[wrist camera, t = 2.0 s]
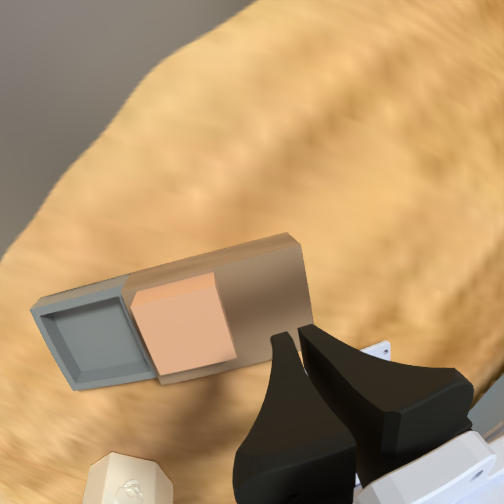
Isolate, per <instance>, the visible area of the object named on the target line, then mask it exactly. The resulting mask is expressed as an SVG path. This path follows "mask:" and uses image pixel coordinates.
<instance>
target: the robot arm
mask: <svg viewBox="0 0 504 504" xmlns="http://www.w3.org/2000/svg"><path fill="white" fill-rule="evenodd" d="M297 330H298V335H299V341H300V346H301V352H302V358H303V364H304V367H303V365H302V362H301V359H300V357H299V354H298V351H297V349H296V346H295V343H294V341H293V338H292V337H291V335H290V334H289V333H288V332H287V331H285V332H282V333H278V334H275V335H272V336H271V338H270V342H271V346H272V368H271V374H270V380H269V385H268V389H267V393H266V396H265V399H264V402H263V405H262V407H261V410H260V412H259V415H258V417H257V419H256V421H255V423H254V424H253V426H252V428H251V430H250V432H249V434H248V435H247V437H246V438H245V440H244V441H243V443H242V444H241V446H240V447H239V448H238V450H237V451H236V455H235V460H234V467H233V490H234V496H235V499H236V502H237V504H504V421H502V422H501V423H500V424H498V425H497V426H496V427H494V428H493V429H492V430H490V431H489V432H488V433H486V434H485V435H483V436H482V437H481V436H480V435H479V434H478V433H477V432H474V431H473V430H472V429H471V427H472V422H471V421H470V420H469V419H468V418H467V415H468V412H469V409H470V406H471V403H472V399H473V394H474V388H473V385H472V384H471V383H470V382H469V381H468V380H467V379H466V378H465V377H464V376H463V375H462V374H461V373H460V372H459V371H457V370H456V369H455V368H430V367H420V366H412V365H406V364H401V363H396V362H392V361H390V343H389V342H388V341H386V340H385V341H382V342H380V343H377V344H374V345H372V346H369V347H367V348H364V349H361V350H358V349H355V348H353V347H351V346H349V345H347V344H345V343H343V342H342V341H340V340H338V339H336V338H334V337H333V336H331V335H330V334H328V333H326V332H325V331H323V330H321V329H320V328H318V327H317V326H315V325H313V324H309V325H305V326H302V327H299V328H297ZM384 351H385V352H384ZM304 368H305V369H304Z"/></svg>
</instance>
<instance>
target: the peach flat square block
mask: <svg viewBox="0 0 504 504" xmlns="http://www.w3.org/2000/svg"><path fill="white" fill-rule="evenodd" d="M131 310H132V312H133V315H134V317H135V320H136V322H137V324H138V327H139V329H140V332H141V334H142V336H143V339H144V341H145V343H146V345H147V348H148V350H149V352H150V354H151V357H152V359H153V361H154V363H155V365H156V367H157V370H158V372H159V374H160V375H165V374H170V373H175V372H179V371H184V370H189V369H193V368H198V367H202V366H206V365H210V364H215V363H219V362H223V361H227V360H231V359H235V358H237V356H236V351H235V346H234V341H233V337H232V334H231V331H230V327H229V324H228V321H227V317H226V314H225V310H224V307H223V304H222V300H221V297H220V293H219V290H218V286H217V283H216V279H215V276H214V272H211V273H207V274H203V275H200V276H196V277H192V278H188V279H184V280H180V281H176V282H173V283H169V284H165V285H161V286H157V287H153V288H149V289H145V290H141V291H137V293H136V295H135V297H134V300H133V302H132V305H131Z"/></svg>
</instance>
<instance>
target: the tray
mask: <svg viewBox="0 0 504 504" xmlns="http://www.w3.org/2000/svg"><path fill="white" fill-rule="evenodd" d="M129 275H130V274H126V275H122V276H119V277H115V278H111V279H107V280H104V281H100V282H96V283H93V284H89V285H85V286H82V287H78V288H74V289H71V290H67V291H63V292H60V293H56V294H52V295H49V296H45V297H42V298H40V299H39V300H38V301H37V302H36V303H35V304H34V306H33V307H32V308H31V309H30V311H31V314H32V316H33V318H34V320H35V322H36V324H37V326H38V328H39V330H40V332H41V334H42V336H43V338H44V340H45V342H46V344H47V346H48V348H49V350H50V352H51V354H52V356H53V357H54V359H55V361H56V363H57V365H58V366H59V368H60V370H61V372H62V373H63V375H64V377H65V378H66V380H67V382H68V383H69V385H70V387H71V388H72V390H73V391H76V390H83V389H91V388H98V387H104V386H111V385H117V384H123V383H129V382H135V381H140V380H146V379H151V378H156V377H157V375H156V373H155V371H154V369H153V367H152V365H151V362H150V360H149V358H148V356H147V354H146V352H145V349H144V347H143V345H142V343H141V340H140V338H139V336H138V333H137V331H136V329H135V326H134V324H133V322H132V319H131V317H130V314H129V312H128V309H127V307H126V304H125V302H124V299H123V297H122V294H121V292H120V291H121V290H122V288H123V286H124V284H125V282H126V280H127V279H128V277H129Z"/></svg>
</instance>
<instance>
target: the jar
mask: <svg viewBox="0 0 504 504" xmlns="http://www.w3.org/2000/svg"><path fill="white" fill-rule="evenodd" d="M82 504H173V483H172V482H171V481H170V479H169V478H168V477H167V476H166V474H165V473H164V472H163V470H162V469H161V468H160V466H159V465H158V464H157V462H155V461H150V460H145V459H140V458H135V457H131V456H127V455H122V454H118V453H114V452H111V453H109V454H108V455H106V456H105V457H103V458H102V459H100V460H99V461H97V462H96V463H94V464H92V465H91V466H90V470H89V474H88V479H87V483H86V488H85V492H84V497H83V502H82Z"/></svg>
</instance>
